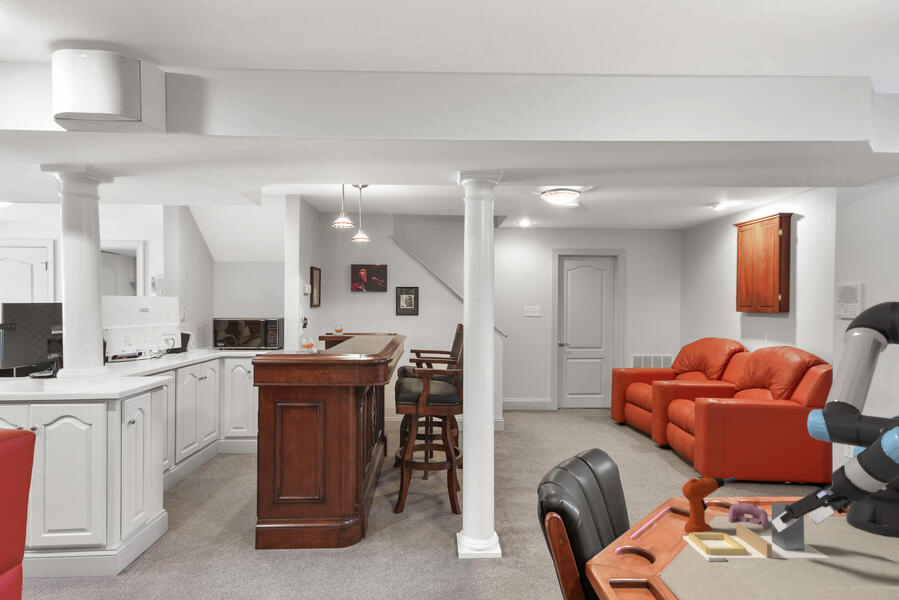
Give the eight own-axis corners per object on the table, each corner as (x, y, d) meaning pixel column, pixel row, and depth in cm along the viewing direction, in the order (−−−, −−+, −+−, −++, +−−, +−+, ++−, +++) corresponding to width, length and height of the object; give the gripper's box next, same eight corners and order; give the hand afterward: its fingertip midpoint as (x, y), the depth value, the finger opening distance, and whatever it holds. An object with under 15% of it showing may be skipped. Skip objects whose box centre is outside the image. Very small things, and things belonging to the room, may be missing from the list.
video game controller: (768, 533, 149) (768, 508, 152) (768, 531, 146) (768, 504, 148) (728, 526, 154) (729, 501, 157) (727, 523, 151) (728, 498, 154)
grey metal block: (790, 542, 137) (790, 503, 138) (804, 550, 132) (803, 510, 133) (771, 542, 137) (771, 503, 138) (784, 550, 132) (784, 510, 133)
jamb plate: (793, 539, 141) (793, 523, 142) (829, 561, 128) (829, 544, 129) (683, 538, 141) (683, 523, 141) (708, 561, 128) (708, 544, 128)
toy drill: (747, 523, 148) (741, 470, 148) (693, 539, 142) (688, 484, 142) (733, 517, 153) (727, 465, 153) (680, 532, 147) (675, 479, 147)
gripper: (836, 500, 112) (770, 545, 125) (906, 488, 121) (838, 531, 134) (810, 468, 117) (749, 514, 130) (879, 459, 126) (816, 503, 139)
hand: (794, 523), depth 132 cm, fingers open, 13 cm apart
